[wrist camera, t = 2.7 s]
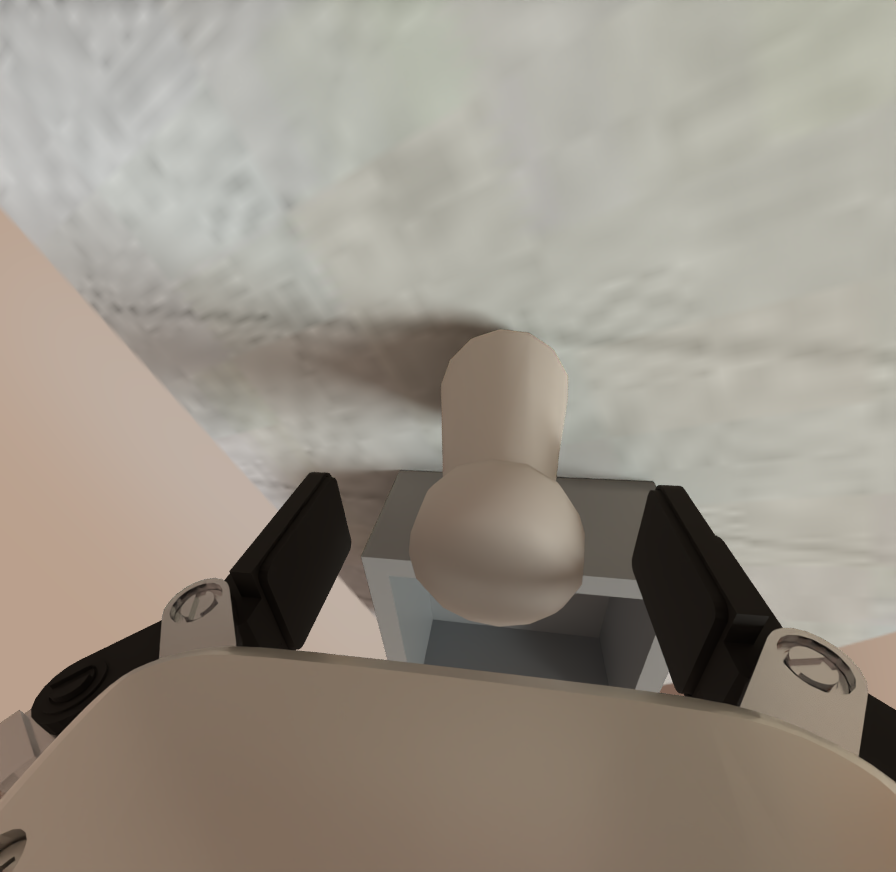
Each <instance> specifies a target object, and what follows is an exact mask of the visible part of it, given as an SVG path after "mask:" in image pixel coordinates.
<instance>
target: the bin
mask: <svg viewBox="0 0 896 872" xmlns="http://www.w3.org/2000/svg"><path fill="white" fill-rule="evenodd" d="M441 478H443V472H424V471H401V470H400V471H399V473H398V476H397V478H396V480H395V482H394V485H393V487H392V489H391V491H390V493H389V496H388V498H387V500H386V502H385V505H384V507H383V509H382V511H381V513H380V516H379V518H378V520H377V522H376V525H375V527H374V529H373V531H372V533H371V536H370V538H369V540H368V542H367V545H366V547H365V549H364V551H363V553H362V556H361V558H362V562H363V566H364V570H365V574H366V578H367V582H368V586H369V590H370V594H371V597H372V601H373V605H374V609H375V613H376V617H377V621H378V625H379V629H380V632H381V636H382V640H383V644H384V648H385V652H386V656H387V660H391V661H400V662H409V663H417V664H426V665H435V666H444V667H453V668H461V669H470V670H478V671H487V672H496V673H504V674H513V675H521V676H530V677H538V678H546V679H555V680H563V681H571V682H580V683H588V684H596V685H604V686H613V687H621V688H628V689H635V690H643V691H650V692H657V693H659V692H660V690H661V688H662V686H663V683H664V681H665V679H666V677H667V674H668V672H669V670H668V667H667V665H666V662H665V659H664V656H663V654H662V651H661V648H660V645H659V642H658V640H657V637H656V634H655V631H654V629H653V626H652V623H651V620H650V617H649V615H648V612H647V609H646V606H645V604H644V601H643V598H642V595H641V592H640V590H639V587H638V584H637V581H636V579H635V576H634V573H633V570H632V556H633V552H634V548H635V544H636V540H637V536H638V532H639V528H640V524H641V520H642V516H643V512H644V508H645V504H646V500H647V496H648V493H649V491H650V490H655V489H656V485H655V483H654V482H648V481H625V480H603V479H580V478H558V477H556V482H558V484H559V485H560V486H561V488H562V489H563V491H564V492H565V494H566V495H567V497H568V498H569V500H570V501H571V503H572V504H573V506H574V508H575V509H576V511H577V512H578V514H579V515H580V519H581V522H582V526H583V529H584V533H585V547H584V566H583V579H582V585H581V586H580V588H579V589H578V590H577V591H576V592H575V594H574V595H573V596H572V597H571V599H570V600H569V601H568V602H567V603H566V605H565V606H564V607H563V608H561V609H560V610H559V611H557V612H556V613H555V614H552V615H550V616H548V617H545V618H543V619H540V620H538V621H536V622H533V623H531V624H524V625H513V626H501V627H499V626H494V625H489V624H484V623H479V622H474V621H469V620H467V619H465V618H463V617H461V616H459V615H457V614H455V613H453V612H451V611H449V610H447V609H445V608H443V607H442V606H441V605H440V604H439V603H438V602H437V601H436V599H435V598H434V597H433V596H432V595H431V594H430V593H429V592H428V591H427V590H426V589H425V588H424V586H423V585H422V584H421V583H420V582H419V581H418V580H417V579H416V576H415V573H414V569H413V566H412V563H411V559H410V556H409V545H410V533H411V530H412V528H413V525H414V523H415V520H416V517H417V515H418V512H419V510H420V507H421V505H422V503H423V500H424V498H425V495H426V493H427V491H428V490H429V489H430V488H431V487H432V486H433V485H434V484H435V483H436V482H438V481H439V480H440V479H441Z"/></svg>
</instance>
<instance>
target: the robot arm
mask: <svg viewBox="0 0 896 872" xmlns="http://www.w3.org/2000/svg"><path fill="white" fill-rule="evenodd" d="M350 548H351V538H350V533H349V529H348V525H347V521H346V517H345V513H344V509H343V505H342V501H341V497H340V492H339V488H338V484H337V481H336V479H335V478H332V476H331V475H330V474H329V473H319V472H311V473H309V474H308V475H307V477H306V478H305V479H304V480H303V481H302V483H301V484H300V485H299V486H298V488H297V489H296V490H295V491H294V493H293V494H292V495H291V496H290V497H289V499H288V500H287V501H286V502H285V504H284V505H283V506H282V507H281V509H280V510H279V511H278V512H277V513H276V515H275V516H274V517H273V518H272V520H271V521H270V522H269V523H268V525H267V526H266V527H265V528H264V529H263V531H262V532H261V533H260V535H259V536H258V537H257V538H256V539H255V541H254V542H253V543H252V544H251V546H250V547H249V548H248V549H247V550H246V552H245V553H244V554H243V556H242V557H241V558H240V559H239V560H238V562H237V563H236V564H235V565H234V566H233V568H232V569H231V570H230V574H229V575H228V577H227V578H226V579H225V580H222V579H217V578H210V579H204V580H201V581H198V582H195V583H193V584H191V585H189V586H187V587H186V588H184V589H183V590H182V591H180V592H179V593H177V594H176V595H175V596H174V597H173V598H172V599H171V600H170V602H169V603H168V604H167V606H166V607H165V609H164V612H163V615H162V620H161V621H159V622H157V623H155V624H153V625H151V626H149V627H147V628H145V629H143V630H141V631H139V632H137V633H135V634H132V635H130V636H128V637H126V638H124V639H122V640H120V641H118V642H116V643H114V644H112V645H110V646H108V647H106V648H104V649H102V650H100V651H98V652H96V653H93V654H91V655H89V656H87V657H85V658H83V659H81V660H79V661H77V662H76V663H74V664H72V665H70V666H69V667H67V668H66V669H64V670H63V671H62V672H60V673H59V674H58V675H56V676H55V677H54V678H53V679H52V680H51V681H50V682H49V683H48V684H47V685H46V686H45V687H44V688H43V689H42V691H41V692H40V693H39V695H38V696H37V697H36V699H35V701H34V704H33V706H32V708H31V709H30V710H29V711H28V712H26V713H25V714H24V713H23V712H21V711H20V710H19V711H17V712H15V713H14V714H12V715H11V716H10V717H8V718H7V719H5V720H4V721H2V722H1V723H0V872H896V710H895V709H893V708H891V707H889V706H888V705H886V704H885V703H883V702H882V701H880V700H878V699H876V698H875V697H873V696H871V695H870V694H868V688H867V681H866V680H865V678H864V676H863V674H862V672H861V670H860V669H859V668H858V667H857V666H856V665H855V664H854V662H853V661H852V660H851V659H850V658H849V657H848V656H847V655H845V654H844V653H843V652H842V651H841V650H839V649H838V648H837V647H836V646H834V645H832V644H831V643H829V642H827V641H826V640H824V639H822V638H821V637H818V636H816V635H814V634H811V633H809V632H807V631H803V630H798V629H794V628H783V627H782V626H781V624H780V623H779V622H778V620H777V619H776V617H775V616H774V614H773V613H772V611H771V610H770V608H769V607H768V605H767V604H766V603H765V601H764V600H763V598H762V597H761V595H760V594H759V592H758V591H757V589H756V588H755V586H754V585H753V583H752V582H751V581H750V579H749V578H748V576H747V575H746V573H745V572H744V570H743V569H742V567H741V566H740V564H739V563H738V562H737V560H736V559H735V557H734V556H733V554H732V553H731V551H730V550H729V548H728V547H727V545H726V544H725V542H724V541H723V540H722V539H721V538H720V537H718V536H715V534H714V533H713V531H712V530H711V528H710V527H709V525H708V524H707V522H706V521H705V519H704V518H703V516H702V515H701V513H700V512H699V510H698V509H697V507H696V506H695V504H694V503H693V501H692V500H691V498H690V497H689V495H688V494H687V492H686V491H685V489H684V488H683V487H681V486H669V485H658V486H657V487H656V489H655V490H650V491H649V493H648V496H647V500H646V504H645V508H644V512H643V516H642V520H641V524H640V528H639V532H638V536H637V540H636V544H635V548H634V552H633V556H632V570H633V573H634V576H635V579H636V581H637V584H638V587H639V590H640V592H641V595H642V598H643V601H644V604H645V606H646V609H647V612H648V615H649V617H650V620H651V623H652V626H653V629H654V631H655V634H656V637H657V640H658V642H659V645H660V648H661V651H662V654H663V656H664V659H665V662H666V665H667V667H668V670H669V673H670V676H671V679H672V681H673V684H674V686H675V689H676V690H677V692H678V693H682V694H684V696H679V695H671V694H664V693H657V692H650V691H643V690H635V689H628V688H621V687H613V686H604V685H596V684H588V683H580V682H571V681H563V680H555V679H546V678H538V677H530V676H521V675H513V674H504V673H496V672H487V671H478V670H470V669H461V668H453V667H444V666H435V665H426V664H417V663H409V662H400V661H391V660H382V659H381V660H380V659H372V658H362V657H354V656H345V655H335V654H326V653H317V652H306V651H296V649H300V648H301V647H302V646H303V644H304V642H305V641H306V639H307V637H308V634H309V632H310V630H311V628H312V626H313V624H314V622H315V620H316V618H317V616H318V614H319V612H320V610H321V608H322V606H323V604H324V602H325V600H326V598H327V596H328V594H329V592H330V590H331V588H332V586H333V584H334V582H335V580H336V578H337V576H338V574H339V572H340V570H341V568H342V565H343V563H344V561H345V559H346V557H347V555H348V553H349V551H350Z"/></svg>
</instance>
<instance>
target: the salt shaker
mask: <svg viewBox="0 0 896 872" xmlns="http://www.w3.org/2000/svg"><path fill="white" fill-rule="evenodd" d="M567 401H568V375H567V373H566V371H565V369H564V367H563V366H562V364H561V362H560V360H559V358H558V356H557V354H556V353H555V351H554V350H553V348H551V347H550V346H548V345H547V344H545V343H544V342H542V341H541V340H539V339H538V338H536V337H535V336H533V335H532V334H530V333H528V332H520V331H511V330H503V329H499V330H496V331H493V332H490V333H486V334H483V335H480V336H477V337H474V338H472V339H470V340H469V341H468V342H467V343H466V344H465V345H464V346H463V347H462V348H461V349H460V350H459V351H458V353H457V354H456V355H455V356H454V357H453V358H452V359H451V360H450V361H449V364H448V367H447V370H446V373H445V375H444V378H443V381H442V384H441V409H442V455H443V478H441V479H440V480H439V481H438V482H436V483H435V484H434V485H433V486H432V487H431V488H430V489H429V490H428V491H427V493H426V495H425V498H424V500H423V503H422V505H421V507H420V510H419V512H418V515H417V517H416V520H415V523H414V525H413V528H412V530H411V533H410V545H409V556H410V559H411V563H412V566H413V569H414V573H415V576H416V579H417V580H418V581H419V582H420V583H421V584H422V585H423V586H424V588H425V589H426V590H427V591H428V592H429V593H430V594H431V595H432V596H433V597H434V598H435V599H436V601H437V602H438V603H439V604H440V605H441V606H442V607H443V608H445V609H447V610H449V611H451V612H453V613H455V614H457V615H459V616H461V617H463V618H465V619H467V620H469V621H474V622H479V623H484V624H489V625H494V626H499V627H501V626H513V625H524V624H531V623H533V622H536V621H538V620H540V619H543V618H545V617H548V616H550V615H552V614H555V613H556V612H557V611H559V610H560V609H561V608H563V607H564V606H565V605H566V603H567V602H568V601H569V600H570V599H571V597H572V596H573V595H574V594H575V592H576V591H577V590H578V589H579V588H580V586H581V585H582V579H583V566H584V547H585V533H584V529H583V526H582V522H581V519H580V515H579V514H578V512H577V511H576V509H575V508H574V506H573V504H572V503H571V501H570V500H569V498H568V497H567V495H566V494H565V492H564V491H563V489H562V488H561V486H560V485H559V484H558V482H556V477H557V468H558V459H559V451H560V445H561V439H562V433H563V427H564V421H565V415H566V408H567Z"/></svg>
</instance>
